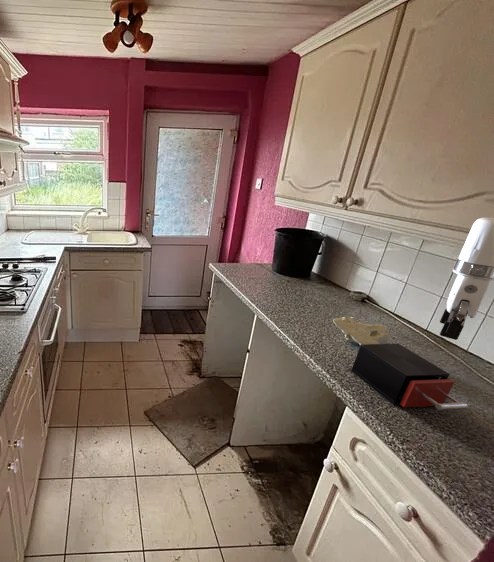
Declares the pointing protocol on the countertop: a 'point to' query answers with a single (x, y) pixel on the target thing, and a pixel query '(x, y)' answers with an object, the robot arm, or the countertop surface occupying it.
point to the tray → (429, 393)
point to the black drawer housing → (392, 368)
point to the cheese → (362, 331)
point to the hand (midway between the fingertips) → (447, 330)
